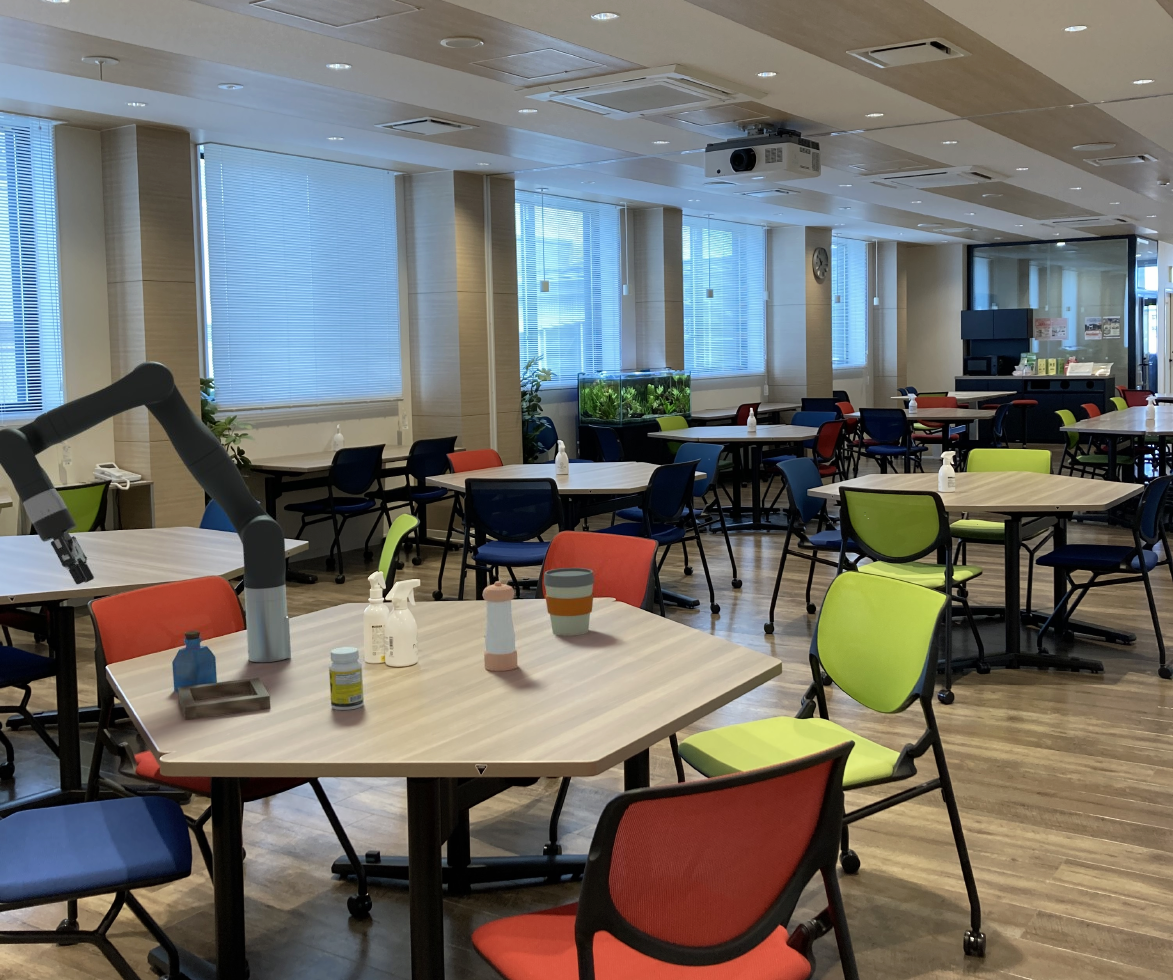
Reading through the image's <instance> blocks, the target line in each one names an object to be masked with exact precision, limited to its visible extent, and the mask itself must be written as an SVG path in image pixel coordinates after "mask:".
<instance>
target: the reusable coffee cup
mask: <svg viewBox="0 0 1173 980" xmlns="http://www.w3.org/2000/svg"><path fill="white" fill-rule="evenodd" d="M543 575H544V578H543V585H544V586H545V591H546V592H545V593H546V594H545V595H544V597H545V602H546V607H547V608H546V609H547V613H548V615H549V618H550V624H551V629H552V631H551V632H552V633H553V634H555V635H559V636H580V635H583V634H587V633H588V632H589V628H590V617H591V613H592V611H593V603H594V592H593V587H594V584H595V578H594V571H593V570H592V569H590V568H582V567H562V568H561V567H560V568H556V569H549V570H547V571H545V572H544V574H543Z"/></svg>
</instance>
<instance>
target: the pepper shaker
mask: <svg viewBox="0 0 1173 980" xmlns="http://www.w3.org/2000/svg"><path fill="white" fill-rule="evenodd" d="M482 597H483V600H485V601H486V602H485V603H486V627H485V635H484V643H485V645H484V646H485V650H484V654H483V656H484V658H483V659H484V660H483V661H484V669H485V670H487V671H491V672H503V671H505V672H506V671H512V670H515V669H516V668H518V666H519V665H518V650H517V649H516V633H515V627H514V624H513V623H514V622H513V616H512V615H513V614H512V613H513V611H512V600H513V599H514V598H515V590H514V588H513V587H512V586H511V585H509V584H505V583H504V584H503V583H502V582H501V581H500V580H499V581H498V580H497V581H495V582H494V584H490V585H488V586H486V587H485V588H484V589H483V591H482Z"/></svg>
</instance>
